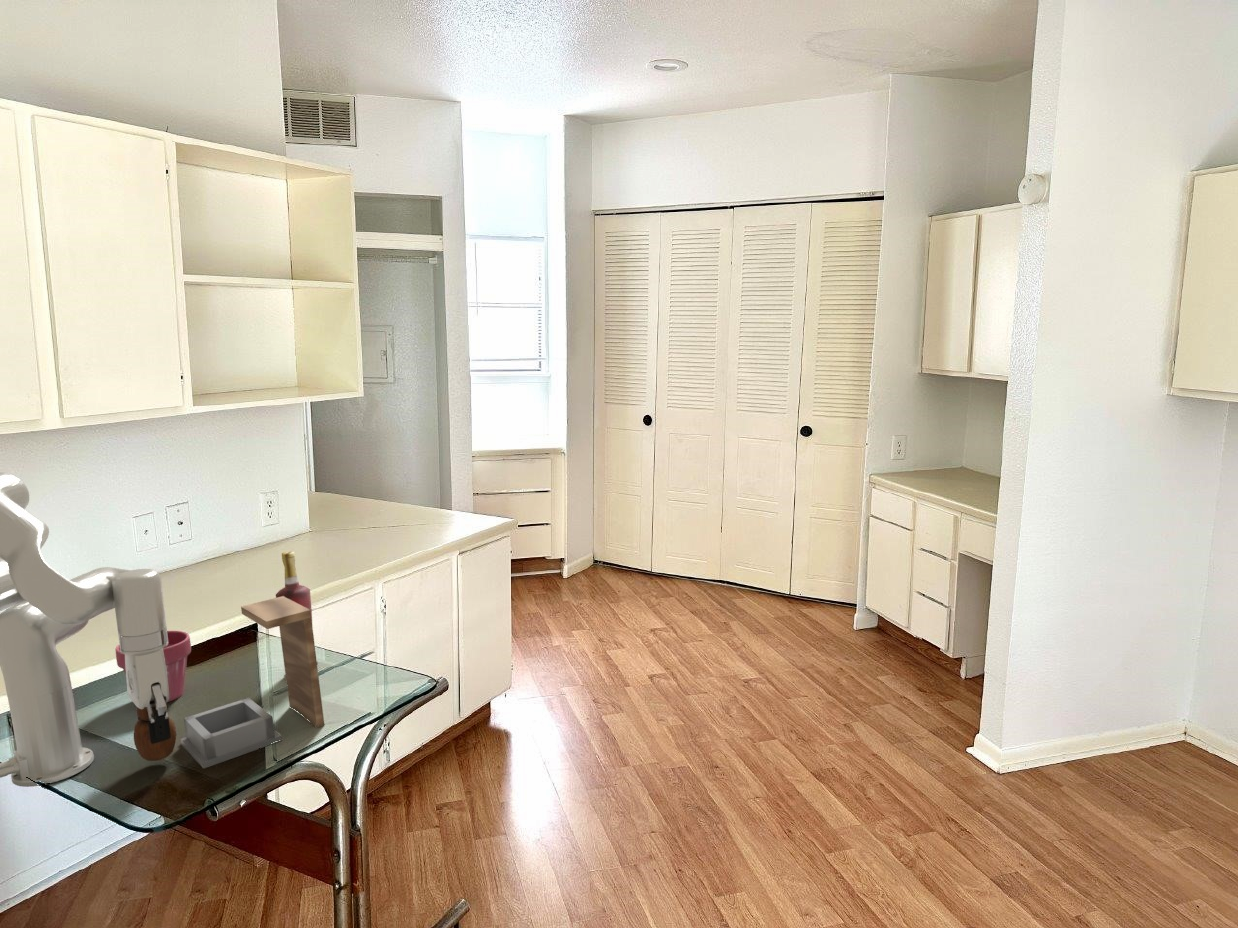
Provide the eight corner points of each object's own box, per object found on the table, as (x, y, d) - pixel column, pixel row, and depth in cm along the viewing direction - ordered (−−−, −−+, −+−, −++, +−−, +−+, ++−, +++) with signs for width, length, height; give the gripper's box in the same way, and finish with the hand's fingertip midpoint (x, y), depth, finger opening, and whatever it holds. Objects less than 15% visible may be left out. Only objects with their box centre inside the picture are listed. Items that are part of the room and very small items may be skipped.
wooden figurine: (129, 761, 153) (119, 682, 150) (157, 746, 158) (147, 670, 156) (158, 767, 150) (148, 686, 148) (184, 751, 156) (176, 674, 153)
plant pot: (210, 682, 192) (202, 628, 190) (172, 710, 178) (163, 652, 176) (151, 684, 193) (142, 630, 191) (108, 711, 179) (99, 653, 177)
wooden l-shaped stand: (282, 740, 161) (266, 621, 157) (256, 718, 171) (240, 606, 168) (324, 725, 166) (310, 609, 163) (296, 704, 177) (283, 596, 173)
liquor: (324, 664, 199) (310, 548, 194) (312, 677, 191) (297, 556, 187) (293, 666, 199) (278, 549, 195) (280, 678, 192) (264, 558, 187)
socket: (203, 768, 152) (199, 742, 151) (181, 743, 162) (177, 719, 161) (282, 740, 161) (278, 715, 160) (256, 718, 171) (252, 695, 171)
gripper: (108, 632, 155) (120, 724, 157) (132, 658, 142) (144, 757, 145) (154, 622, 160) (164, 712, 162) (180, 646, 147) (191, 742, 150)
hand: (154, 732), depth 153 cm, fingers closed on wooden figurine, 7 cm apart
